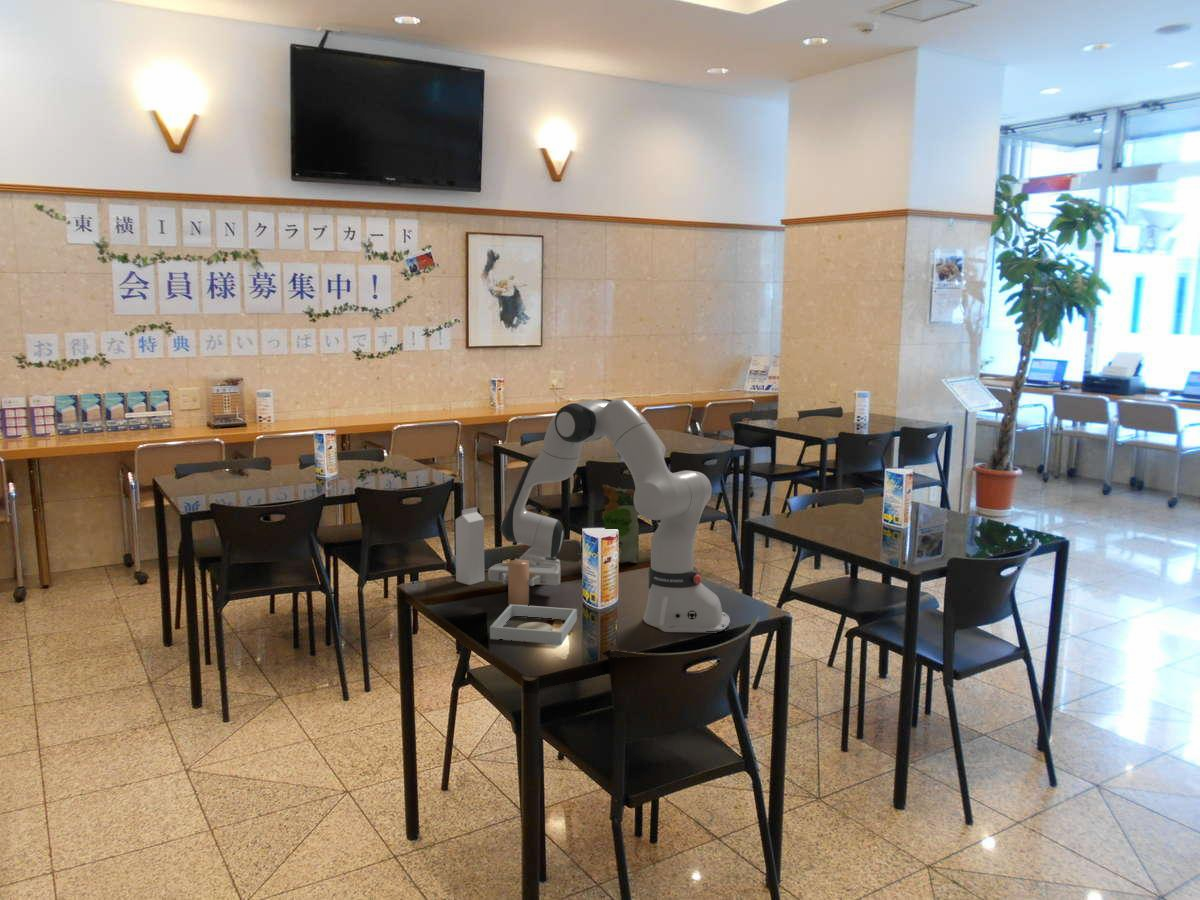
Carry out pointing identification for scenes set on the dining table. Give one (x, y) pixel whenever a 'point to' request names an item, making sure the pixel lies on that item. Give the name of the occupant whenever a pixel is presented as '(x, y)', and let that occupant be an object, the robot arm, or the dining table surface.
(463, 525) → the milk
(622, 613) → the dining table surface
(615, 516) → the pouch
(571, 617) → the white square frame
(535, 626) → the coaster
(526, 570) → the canister
